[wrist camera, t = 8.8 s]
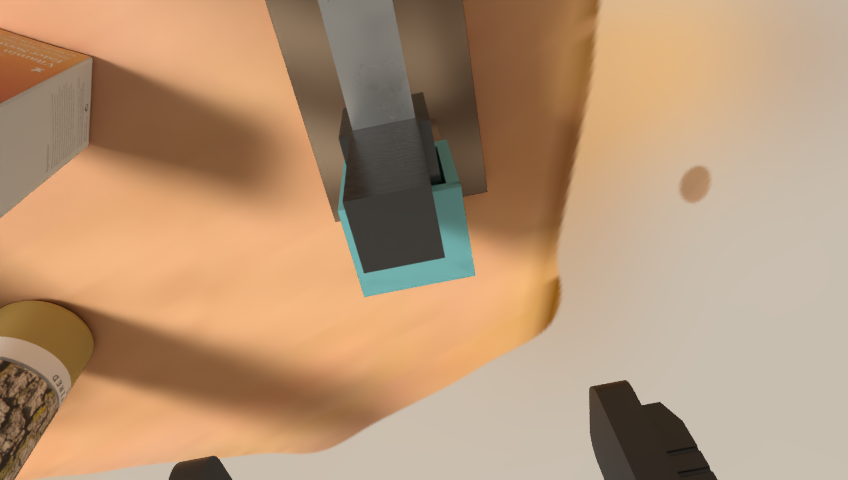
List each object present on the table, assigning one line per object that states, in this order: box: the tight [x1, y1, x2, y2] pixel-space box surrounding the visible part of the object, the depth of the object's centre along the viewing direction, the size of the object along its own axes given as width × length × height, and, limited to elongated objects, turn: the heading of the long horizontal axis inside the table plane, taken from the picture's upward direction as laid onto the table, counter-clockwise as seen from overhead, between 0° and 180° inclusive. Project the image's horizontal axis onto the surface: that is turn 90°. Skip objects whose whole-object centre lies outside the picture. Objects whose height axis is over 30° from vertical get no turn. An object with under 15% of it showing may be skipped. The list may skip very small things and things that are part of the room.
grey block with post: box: [318, 0, 445, 273], centre depth 20 cm, size 19×4×10 cm, turn 10°
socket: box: [338, 139, 475, 297], centre depth 27 cm, size 5×6×6 cm
